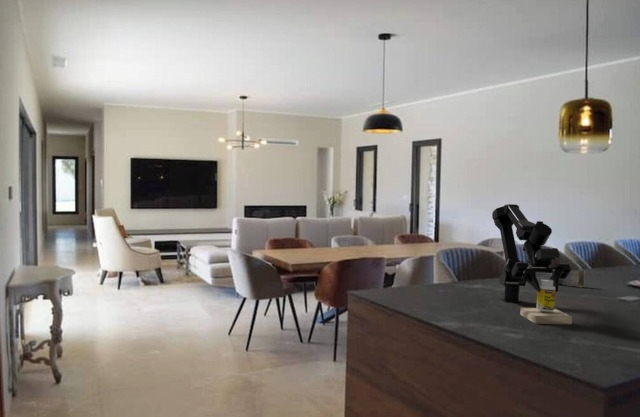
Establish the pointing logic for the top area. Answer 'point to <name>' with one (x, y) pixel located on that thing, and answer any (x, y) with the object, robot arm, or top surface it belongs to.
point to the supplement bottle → (546, 296)
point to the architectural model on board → (574, 279)
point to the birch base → (545, 316)
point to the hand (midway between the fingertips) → (548, 291)
